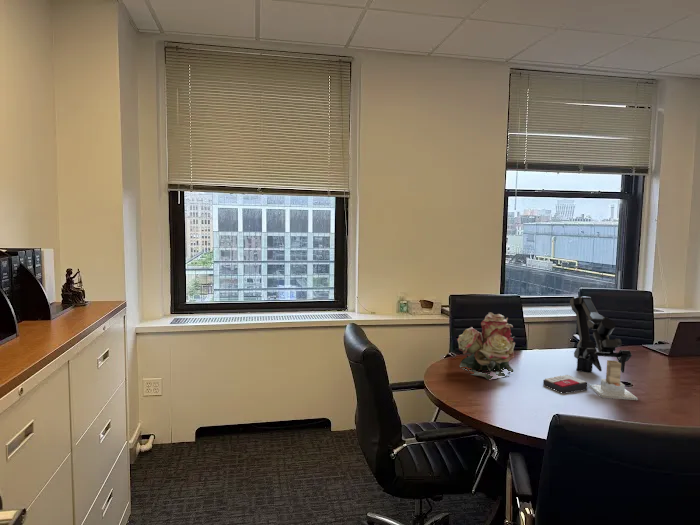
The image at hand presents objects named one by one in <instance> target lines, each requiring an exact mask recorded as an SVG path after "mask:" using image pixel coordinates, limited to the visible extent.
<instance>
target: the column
mask: <svg viewBox="0 0 700 525" xmlns="http://www.w3.org/2000/svg"><path fill="white" fill-rule="evenodd" d="M606 360H607V361H606V373H605V374H606V375H605V379H606V381H607V382H608V383H611V384H614V383H618V384H620V382H621V373H622V371H621V363H620V362H618V360H608V359H606Z"/></svg>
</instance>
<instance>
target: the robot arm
mask: <svg viewBox="0 0 700 525" xmlns="http://www.w3.org/2000/svg"><path fill="white" fill-rule="evenodd" d="M569 305H570V307H571V310H572V311H573V313H575V316H576V317H575V318H576V322H577V323H576V324H577V330H578V336H579V341H578V342H577V345H576V349H575V350H574V352H573V355H574V358H575V359H576V361H577V362H576V363H577V364H576V371H578V372H584V373H592V371H593V365H594V367H595V368H596V369H597V370H598V371H599V372H602V366H601V365H602V364H600V360H599V357H605V358H606V357H607V358H616V361H618V362H620V363H621V373H622V374H623V373H625V367H626V363H627V362H629V360H630V359H631V357H632V356H633V354H632V351H630V350H628V349H620V350H619V351H618V352H615V351H616V350H617V349H616V348H619V347H622V344H623V343H622V340H621V338H615V339H610V335H612V332H613V331H614V330H615V328H616V325H617V324H616V322H615V321H613V320H612V319H609V317H608V316H604V315H602V314H599V312H598V310H597V309H596V307H595V305H594V302H593V299H592V297H591V296H583V295H582V296H573V297H572V298H571V299H569ZM589 329H590V330H593V332H592V338H593V339H594V340H591V339H590V331H589Z"/></svg>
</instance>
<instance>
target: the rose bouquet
mask: <svg viewBox="0 0 700 525" xmlns="http://www.w3.org/2000/svg"><path fill="white" fill-rule="evenodd" d="M508 320H509V317H505V316H504V315H502V314H500V313H497V314H494V313H493V312H490V311H489V312H488V314H486V315H485V317H484V319H483V320H482V321H480V326H481V331H478V330H477V329H475V328H473V326H470V327H469V328H466V329H465V330H463V331H462V332H463V333H462V334H459V335H458V338H457V339H456V340H457V343H458V350H459V351H460V352H462V354H461V355H466V354H467V355H466V357H464V358H463V359H462V360H460V364H459V368H461V367H468V368H472V369H471V370H469V371H472V372H474V374H471V376H479V377H483V378H485V379H486V380H487V381H489V380H488V379H491V378H492V377H493V376H490V375H488V374H490V373H487V374H486V373H482V372H483V371H482V372H478V371H480V370H488V371H487V372H490V371H492V370H494V369H495V370H501V369H502V370H504V369H507V370H508V371H511V372H514V369H513V368H512V367H511V366H510V361H511V360H513V359H515V358H516V355H515V353H514V349H515V345H516V342H515V341H514V338H516V336H515V335H513V336H512V332H511V331H512V330H511V329H512V328H514V326H513V324H511V323H508ZM469 354H470V355H469ZM503 368H504V369H503ZM464 369H465V368H464ZM476 369H480V370H478V371H476ZM465 371H468V370H467V369H465ZM469 371H468V372H469ZM495 374H496V375H498V376H505V374H504V373H501V371H496V373H495Z"/></svg>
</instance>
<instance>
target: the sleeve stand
mask: <svg viewBox="0 0 700 525" xmlns="http://www.w3.org/2000/svg"><path fill="white" fill-rule="evenodd" d="M588 387H589V388H590V389H591V390H592V389H593V390H592V391H593V392H595V393H596V394H597V395H598V396H599V395H600V396H601V397H600V396H599V397H600V398H602V399H612V398H613V399H614V400H615V399H616V400H629V401H638V400H639V399H638V397H637V396H635V395H634V394H633V393H632V392H630V391H629V390H627V389H626V388H625V387H626V384H624V383H623V382H622V381H620V384H618V383H614V384H611V383H608V382H607V381H606V378H601V380H600V384H588Z"/></svg>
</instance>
